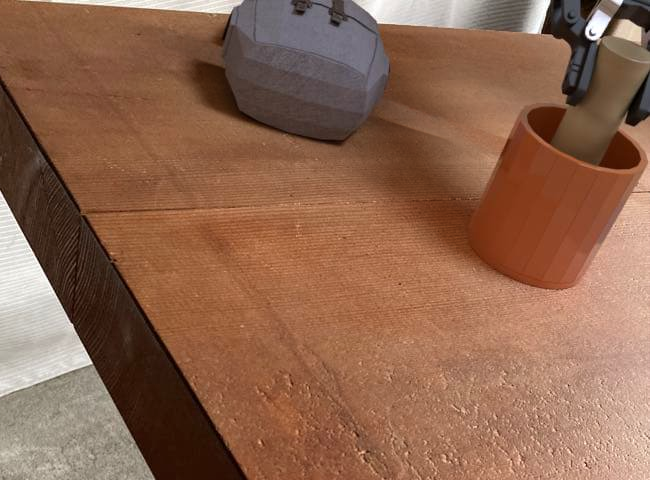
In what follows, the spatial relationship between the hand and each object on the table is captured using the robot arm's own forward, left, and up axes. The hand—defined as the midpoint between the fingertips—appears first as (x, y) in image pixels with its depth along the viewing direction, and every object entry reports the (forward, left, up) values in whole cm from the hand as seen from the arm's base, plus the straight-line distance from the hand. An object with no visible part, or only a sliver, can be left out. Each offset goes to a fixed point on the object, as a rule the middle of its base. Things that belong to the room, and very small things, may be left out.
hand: (605, 110), depth 70 cm
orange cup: (0, -2, -13) cm, 13 cm away
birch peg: (0, -2, -4) cm, 5 cm away
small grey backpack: (+22, -19, -13) cm, 32 cm away
